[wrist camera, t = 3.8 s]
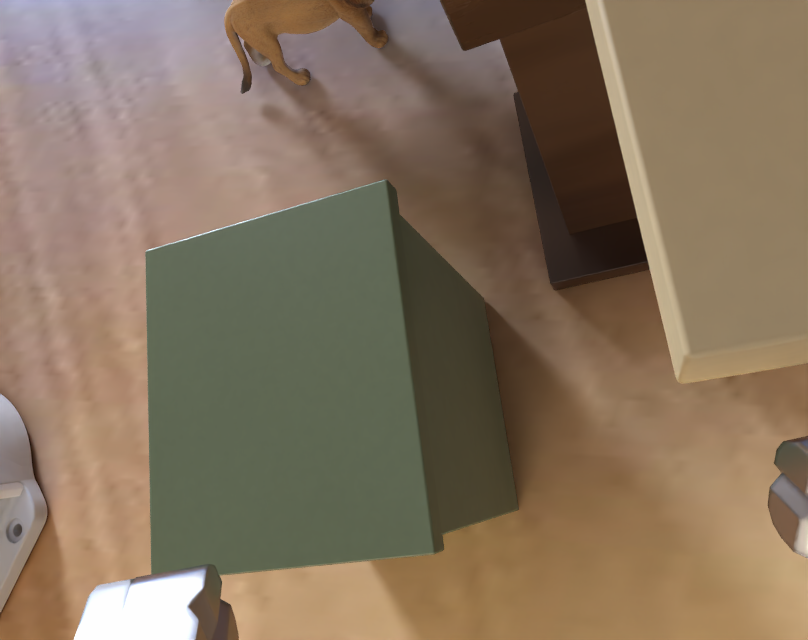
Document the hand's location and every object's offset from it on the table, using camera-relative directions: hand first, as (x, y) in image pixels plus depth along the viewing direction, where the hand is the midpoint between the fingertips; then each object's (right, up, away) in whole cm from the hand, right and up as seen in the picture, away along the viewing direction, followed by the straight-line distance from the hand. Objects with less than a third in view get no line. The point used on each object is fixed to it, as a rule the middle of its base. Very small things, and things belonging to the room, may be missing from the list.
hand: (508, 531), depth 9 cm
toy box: (-1, -2, +29) cm, 29 cm away
